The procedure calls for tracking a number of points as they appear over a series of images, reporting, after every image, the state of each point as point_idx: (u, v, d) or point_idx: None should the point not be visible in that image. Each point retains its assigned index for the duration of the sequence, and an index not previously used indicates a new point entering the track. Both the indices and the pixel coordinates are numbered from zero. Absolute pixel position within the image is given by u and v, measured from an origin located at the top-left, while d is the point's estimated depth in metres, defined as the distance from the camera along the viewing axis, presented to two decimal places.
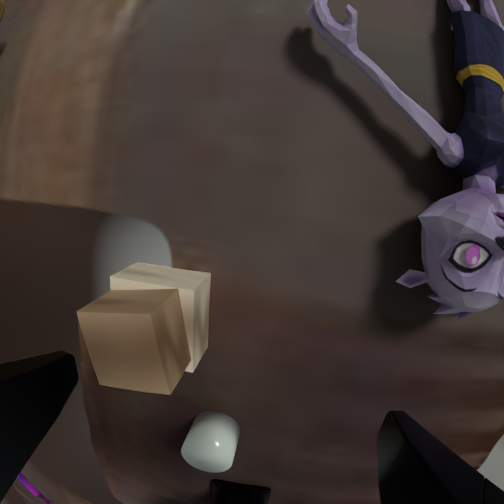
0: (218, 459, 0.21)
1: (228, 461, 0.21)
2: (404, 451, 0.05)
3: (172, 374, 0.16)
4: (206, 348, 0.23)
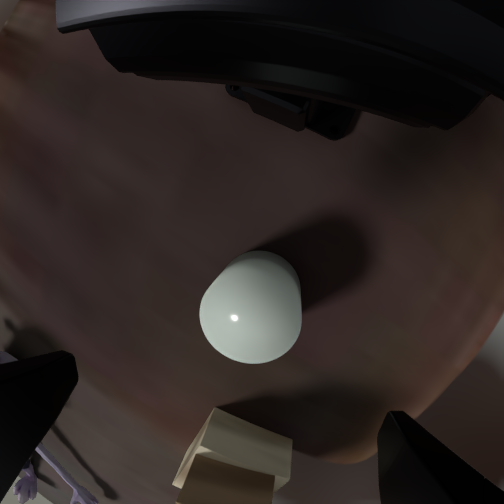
0: (226, 311, 0.13)
1: (209, 302, 0.13)
2: (404, 451, 0.05)
3: None
4: (213, 409, 0.19)
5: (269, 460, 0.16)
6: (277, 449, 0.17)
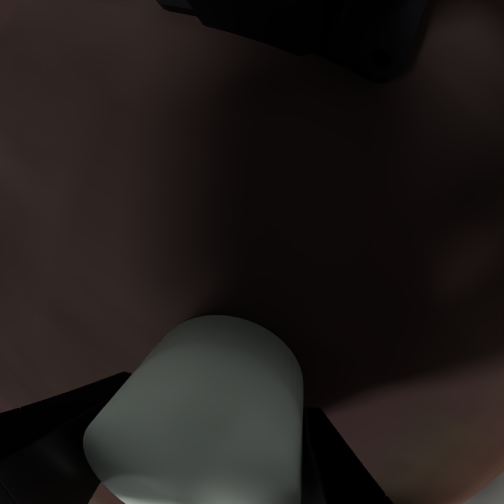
0: (133, 471, 0.05)
1: (97, 450, 0.05)
2: (306, 450, 0.05)
3: None
4: None
5: None
6: None
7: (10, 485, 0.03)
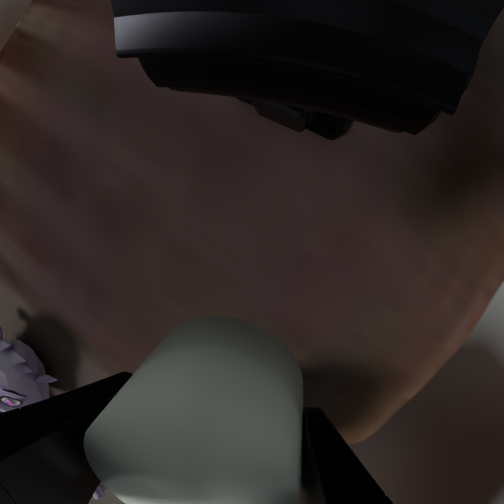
0: (133, 472, 0.05)
1: (97, 451, 0.05)
2: (306, 450, 0.05)
3: None
4: None
5: None
6: None
7: (11, 485, 0.03)
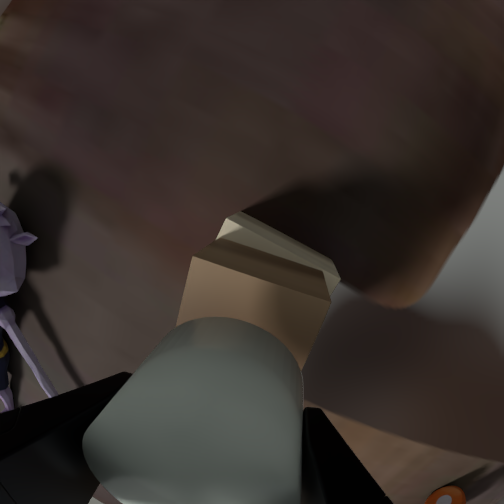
0: (132, 473, 0.05)
1: (96, 453, 0.05)
2: (306, 450, 0.05)
3: None
4: None
5: (311, 258, 0.15)
6: (318, 257, 0.16)
7: (11, 486, 0.03)
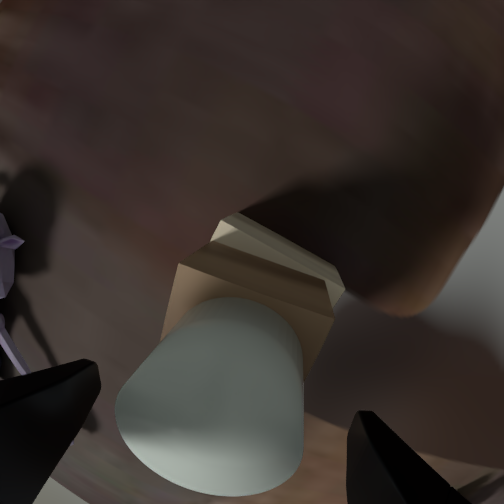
0: (159, 427, 0.06)
1: (128, 410, 0.06)
2: (368, 452, 0.05)
3: None
4: None
5: (314, 265, 0.14)
6: (320, 264, 0.15)
7: None
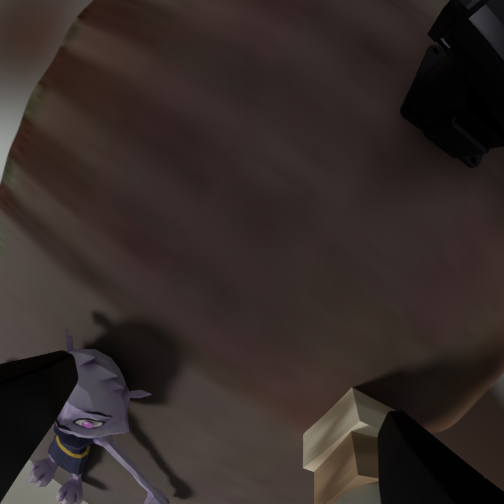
0: None
1: None
2: (404, 451, 0.05)
3: (348, 472, 0.14)
4: (352, 390, 0.20)
5: None
6: None
7: None
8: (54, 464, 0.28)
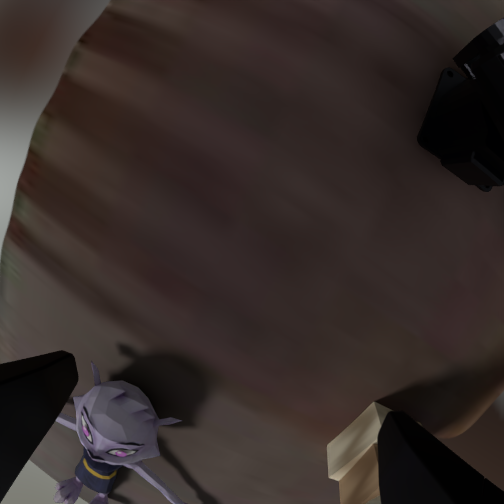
0: None
1: None
2: (404, 451, 0.05)
3: (373, 482, 0.15)
4: (374, 403, 0.21)
5: None
6: None
7: None
8: (79, 483, 0.29)
